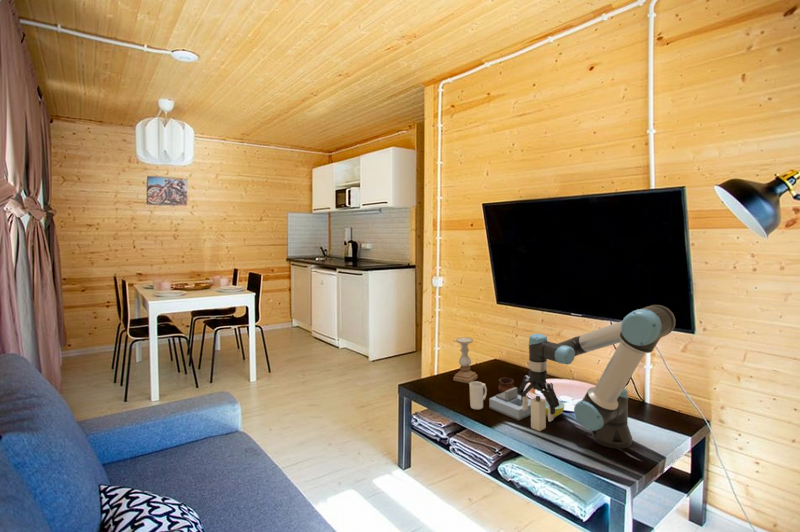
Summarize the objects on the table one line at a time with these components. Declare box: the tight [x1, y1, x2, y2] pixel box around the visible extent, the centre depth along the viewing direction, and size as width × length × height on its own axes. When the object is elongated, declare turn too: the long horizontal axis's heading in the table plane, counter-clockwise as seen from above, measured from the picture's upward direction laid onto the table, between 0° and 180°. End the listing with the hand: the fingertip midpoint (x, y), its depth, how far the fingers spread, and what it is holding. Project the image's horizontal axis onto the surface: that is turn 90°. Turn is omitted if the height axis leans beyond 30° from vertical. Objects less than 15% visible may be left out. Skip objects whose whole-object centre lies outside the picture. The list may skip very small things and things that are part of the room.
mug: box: [468, 380, 488, 410], centre depth 220 cm, size 10×7×12 cm, turn 120°
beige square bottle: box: [530, 395, 547, 432], centre depth 195 cm, size 4×4×14 cm
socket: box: [488, 394, 531, 421], centre depth 214 cm, size 18×14×5 cm
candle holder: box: [452, 336, 479, 384], centre depth 257 cm, size 11×11×24 cm
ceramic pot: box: [497, 377, 515, 394], centre depth 237 cm, size 18×18×7 cm
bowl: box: [543, 398, 565, 419], centre depth 206 cm, size 11×12×6 cm
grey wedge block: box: [495, 386, 519, 402], centre depth 217 cm, size 8×8×5 cm
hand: (537, 415), depth 196 cm, fingers open, 13 cm apart
